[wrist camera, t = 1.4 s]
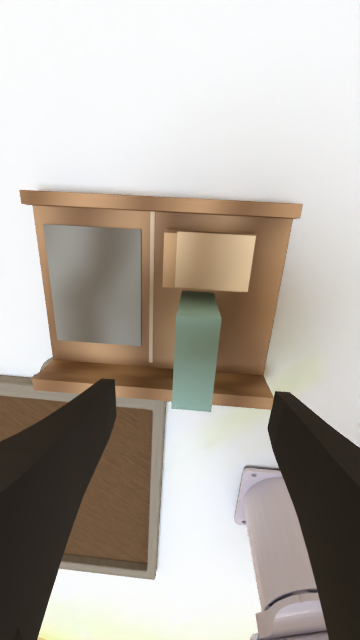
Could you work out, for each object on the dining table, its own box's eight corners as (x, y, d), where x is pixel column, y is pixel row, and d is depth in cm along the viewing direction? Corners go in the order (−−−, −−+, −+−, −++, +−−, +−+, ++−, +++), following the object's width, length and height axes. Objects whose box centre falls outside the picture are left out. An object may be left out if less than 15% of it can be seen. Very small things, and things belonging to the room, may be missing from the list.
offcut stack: (253, 234, 17) (267, 234, 14) (245, 285, 18) (257, 297, 15) (166, 229, 17) (160, 228, 14) (165, 280, 19) (158, 290, 15)
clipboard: (6, 563, 32) (-52, 352, 22) (14, 548, 33) (-36, 344, 23) (155, 580, 31) (166, 371, 21) (157, 564, 33) (168, 362, 22)
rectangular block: (213, 292, 19) (221, 318, 13) (206, 363, 21) (210, 411, 15) (181, 290, 19) (176, 315, 13) (178, 360, 21) (171, 408, 15)
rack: (290, 207, 17) (315, 200, 14) (259, 380, 22) (271, 409, 18) (37, 194, 18) (-2, 184, 14) (59, 365, 23) (33, 390, 19)
